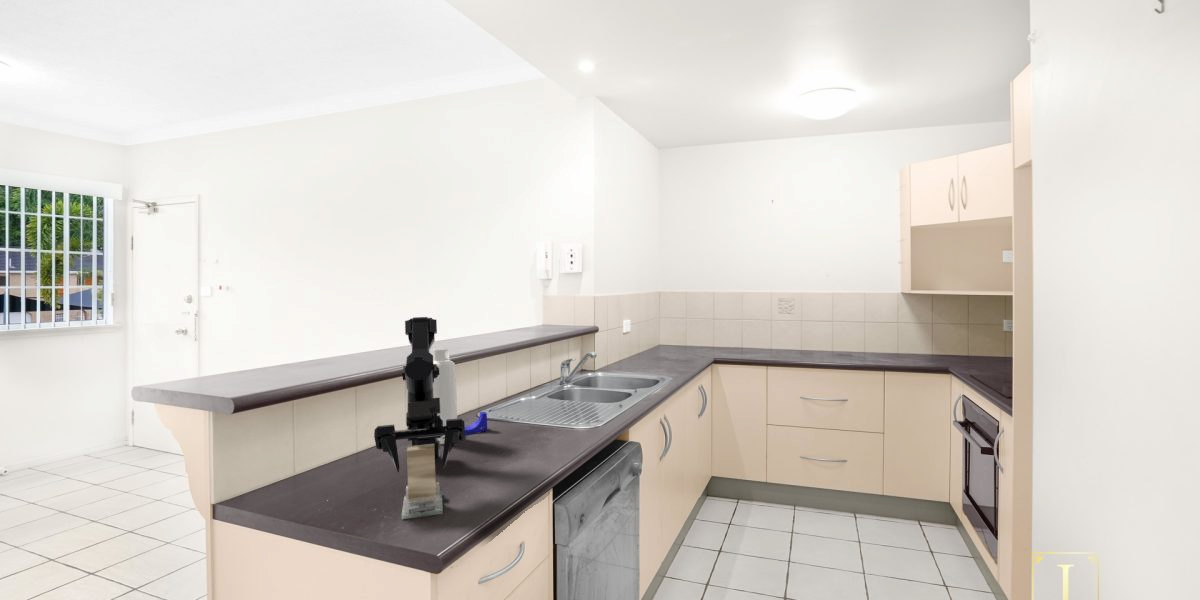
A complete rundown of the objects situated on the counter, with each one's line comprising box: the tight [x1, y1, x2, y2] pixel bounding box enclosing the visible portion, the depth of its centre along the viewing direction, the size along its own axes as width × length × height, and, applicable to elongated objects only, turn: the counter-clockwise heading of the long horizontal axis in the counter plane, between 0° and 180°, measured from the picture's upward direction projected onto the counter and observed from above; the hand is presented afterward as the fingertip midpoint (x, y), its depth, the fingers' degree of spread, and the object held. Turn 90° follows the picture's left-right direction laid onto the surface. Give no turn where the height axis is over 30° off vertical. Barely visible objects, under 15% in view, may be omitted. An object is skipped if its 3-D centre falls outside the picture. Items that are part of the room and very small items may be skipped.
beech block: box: [406, 444, 437, 499], centre depth 118 cm, size 4×6×12 cm, turn 107°
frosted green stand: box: [401, 481, 444, 520], centre depth 118 cm, size 13×8×3 cm, turn 17°
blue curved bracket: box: [465, 411, 488, 435], centre depth 178 cm, size 12×4×6 cm, turn 116°
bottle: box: [432, 347, 458, 445], centre depth 169 cm, size 8×8×28 cm
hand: (421, 468), depth 117 cm, fingers open, 9 cm apart
